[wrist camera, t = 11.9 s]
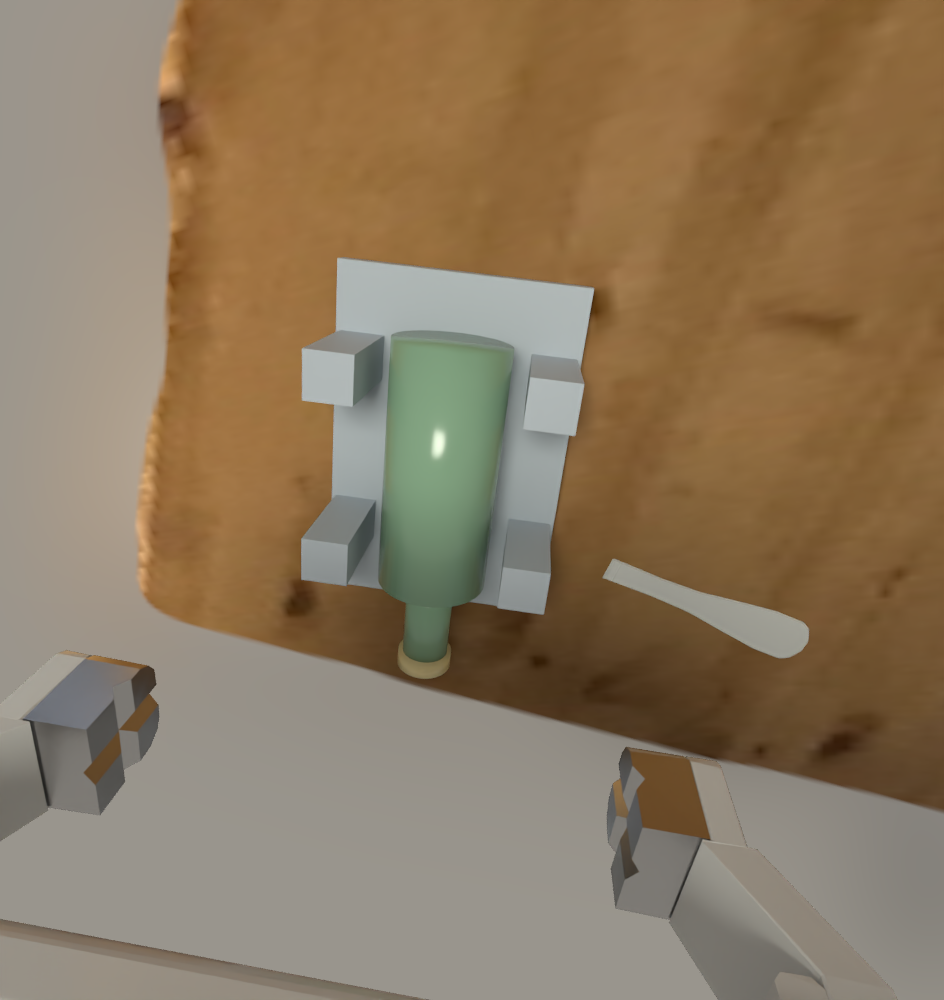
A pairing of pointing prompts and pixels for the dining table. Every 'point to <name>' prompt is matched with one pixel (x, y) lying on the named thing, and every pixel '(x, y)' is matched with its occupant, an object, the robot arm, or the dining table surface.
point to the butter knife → (720, 612)
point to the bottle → (439, 481)
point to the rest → (528, 426)
